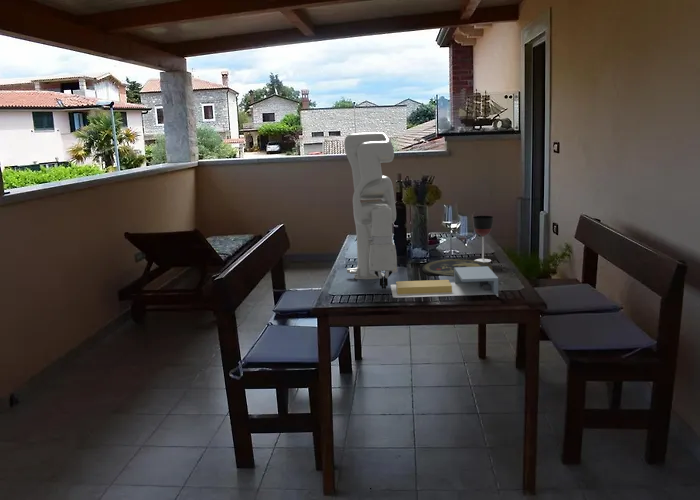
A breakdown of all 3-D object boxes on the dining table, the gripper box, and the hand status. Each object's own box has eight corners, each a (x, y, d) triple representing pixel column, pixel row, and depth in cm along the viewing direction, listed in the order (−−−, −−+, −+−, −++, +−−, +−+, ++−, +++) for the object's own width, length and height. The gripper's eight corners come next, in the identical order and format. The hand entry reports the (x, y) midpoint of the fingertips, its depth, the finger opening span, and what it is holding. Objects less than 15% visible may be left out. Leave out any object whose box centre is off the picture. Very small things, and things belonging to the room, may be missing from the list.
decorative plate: (419, 274, 249) (425, 258, 278) (419, 279, 250) (425, 262, 278) (494, 276, 243) (492, 259, 272) (494, 280, 244) (492, 263, 272)
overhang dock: (393, 300, 220) (392, 281, 219) (390, 287, 238) (390, 269, 237) (498, 296, 220) (498, 278, 218) (487, 283, 237) (488, 266, 236)
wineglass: (493, 262, 272) (493, 218, 268) (473, 262, 273) (473, 218, 269) (492, 258, 279) (492, 215, 275) (472, 258, 281) (473, 215, 277)
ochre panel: (397, 294, 225) (397, 287, 224) (396, 287, 233) (396, 281, 233) (451, 292, 224) (451, 285, 224) (448, 285, 233) (448, 279, 232)
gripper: (362, 242, 222) (364, 291, 225) (403, 241, 221) (404, 289, 225) (362, 239, 229) (363, 286, 233) (401, 237, 229) (402, 284, 232)
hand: (383, 287), depth 229 cm, fingers closed
